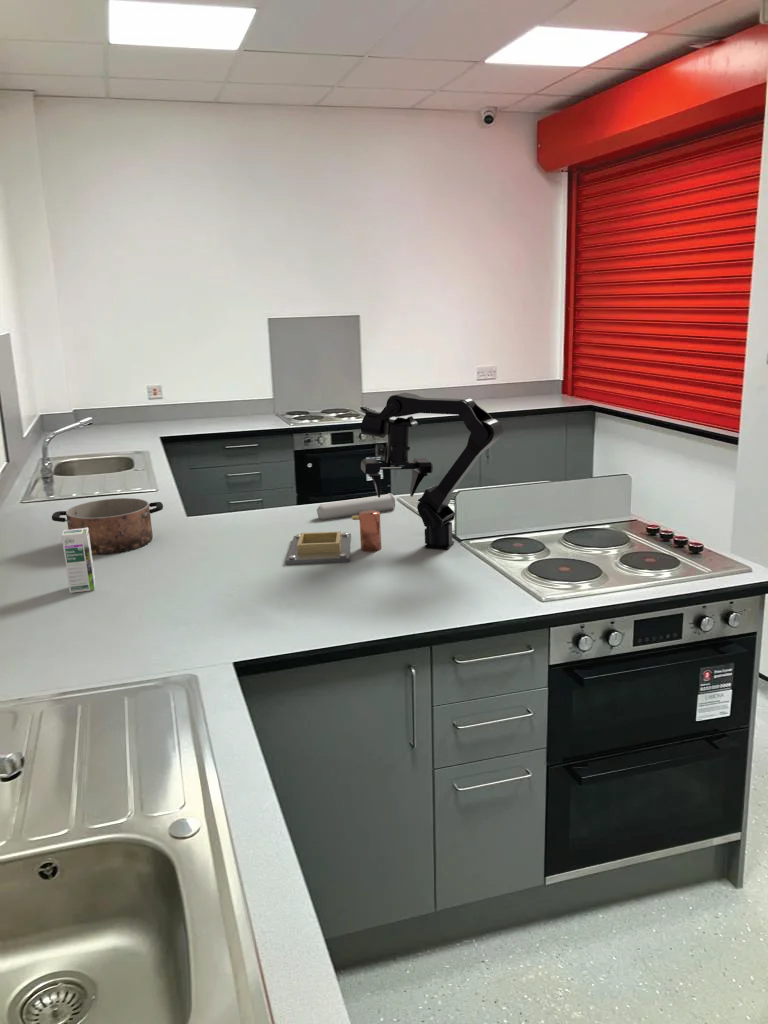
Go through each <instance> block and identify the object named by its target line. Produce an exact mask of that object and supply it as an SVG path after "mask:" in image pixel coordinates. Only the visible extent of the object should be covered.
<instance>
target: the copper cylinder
mask: <svg viewBox="0 0 768 1024" xmlns="http://www.w3.org/2000/svg"><path fill="white" fill-rule="evenodd" d="M351 519H352V520H353V521H357V520H359V535H360V536H359V539H360V540H359V541H360V551H362V552H366V553H375V552H378V551H381V550H382V533H381V529H382V528H381V511H380V512H379V511H376V510H365V511H361V512H360V513H359V515H353V516H351Z"/></svg>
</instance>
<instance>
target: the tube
mask: <svg viewBox="0 0 768 1024" xmlns="http://www.w3.org/2000/svg"><path fill="white" fill-rule="evenodd" d="M395 508H396V499H395V497H394V494H393V493H390V492H388V493H387V494H386V493H385V494H380V497H378V496H377V495H373V496H367V497H361V498H360V497H359V498H353V499H347V500H339V501H335V502H334V501H333V502H328V503H327V502H326V503H320V504H319V506H318V507H317V509H316V514H317V518H318V519H321V520H322V521H326V520H331V519H338V518H344V517H345V518H346V517H352V516H354V515H359V513H360V512H361V511H365V510H376V511H379V512H380V513H381V512H384V511H386V512H387V511H392V510H395Z"/></svg>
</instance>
